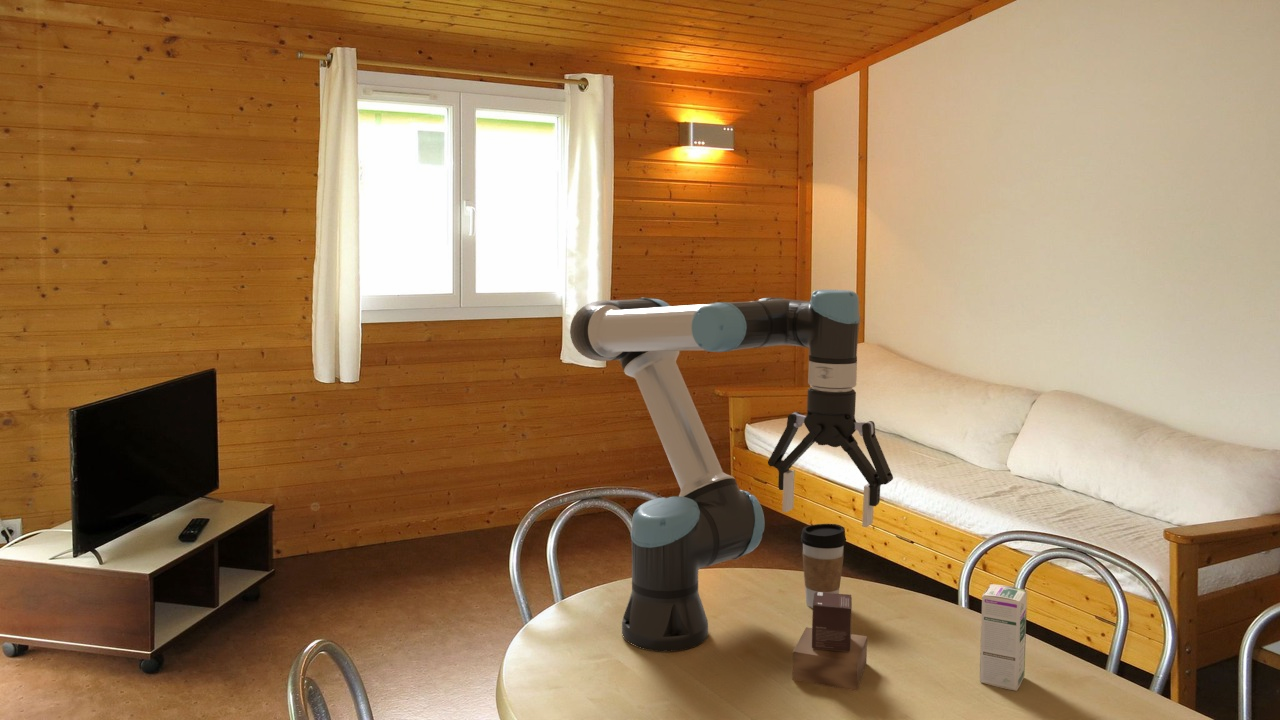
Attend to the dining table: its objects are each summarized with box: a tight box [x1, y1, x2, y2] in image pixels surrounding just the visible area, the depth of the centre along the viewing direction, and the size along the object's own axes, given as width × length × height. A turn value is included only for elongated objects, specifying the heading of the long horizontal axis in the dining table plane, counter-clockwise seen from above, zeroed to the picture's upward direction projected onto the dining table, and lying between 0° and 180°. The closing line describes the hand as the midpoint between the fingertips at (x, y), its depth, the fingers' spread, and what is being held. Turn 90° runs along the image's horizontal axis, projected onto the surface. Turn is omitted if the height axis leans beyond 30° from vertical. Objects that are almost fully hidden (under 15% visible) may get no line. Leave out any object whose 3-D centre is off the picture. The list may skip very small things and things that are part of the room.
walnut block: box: [791, 626, 868, 692], centre depth 149 cm, size 10×10×5 cm
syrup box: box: [979, 583, 1028, 692], centre depth 145 cm, size 6×6×14 cm
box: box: [811, 592, 853, 652], centre depth 148 cm, size 6×6×7 cm
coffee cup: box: [800, 523, 847, 609], centre depth 176 cm, size 8×8×15 cm
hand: (826, 517), depth 150 cm, fingers open, 13 cm apart
